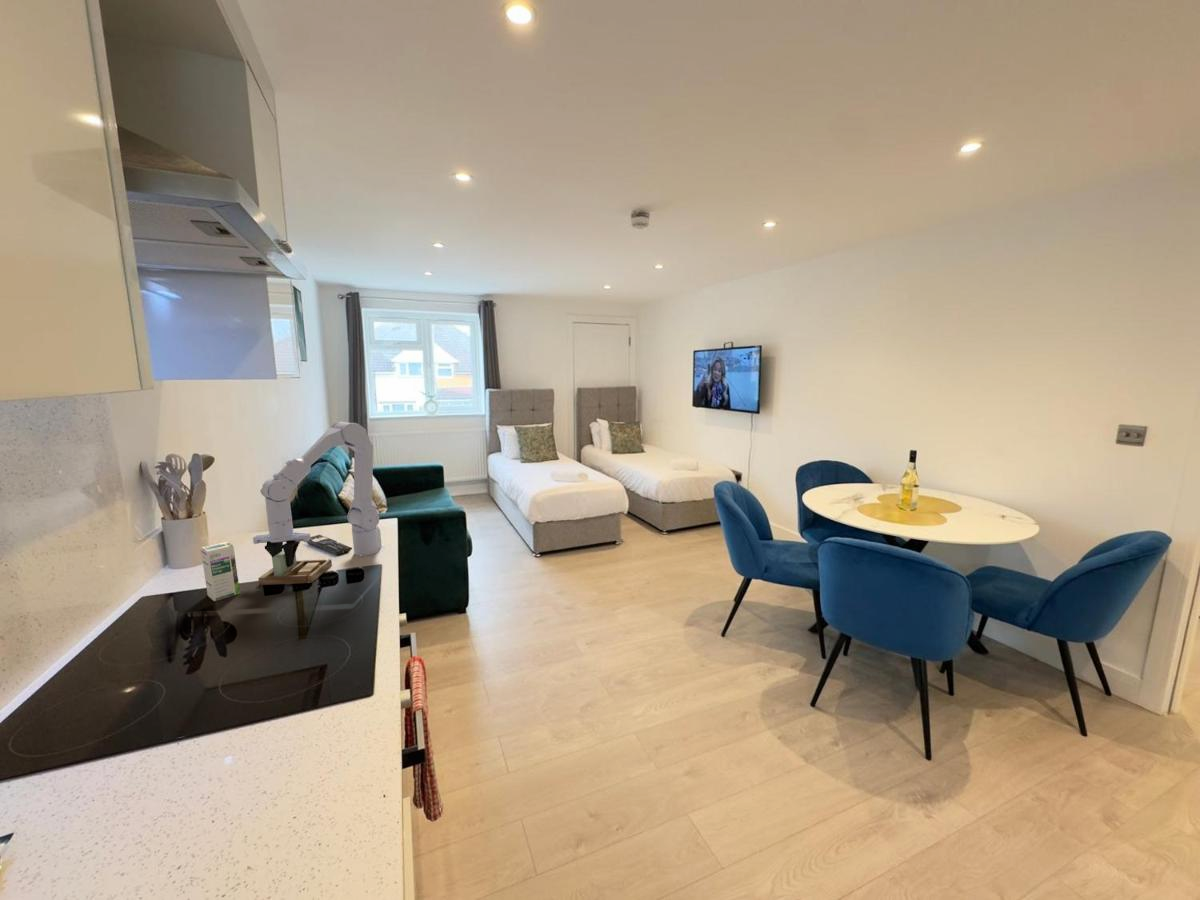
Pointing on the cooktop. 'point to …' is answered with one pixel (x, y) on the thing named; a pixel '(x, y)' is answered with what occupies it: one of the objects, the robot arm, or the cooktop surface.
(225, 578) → the syrup box
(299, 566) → the rack
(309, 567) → the offcut stack
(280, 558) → the pale green flat block
